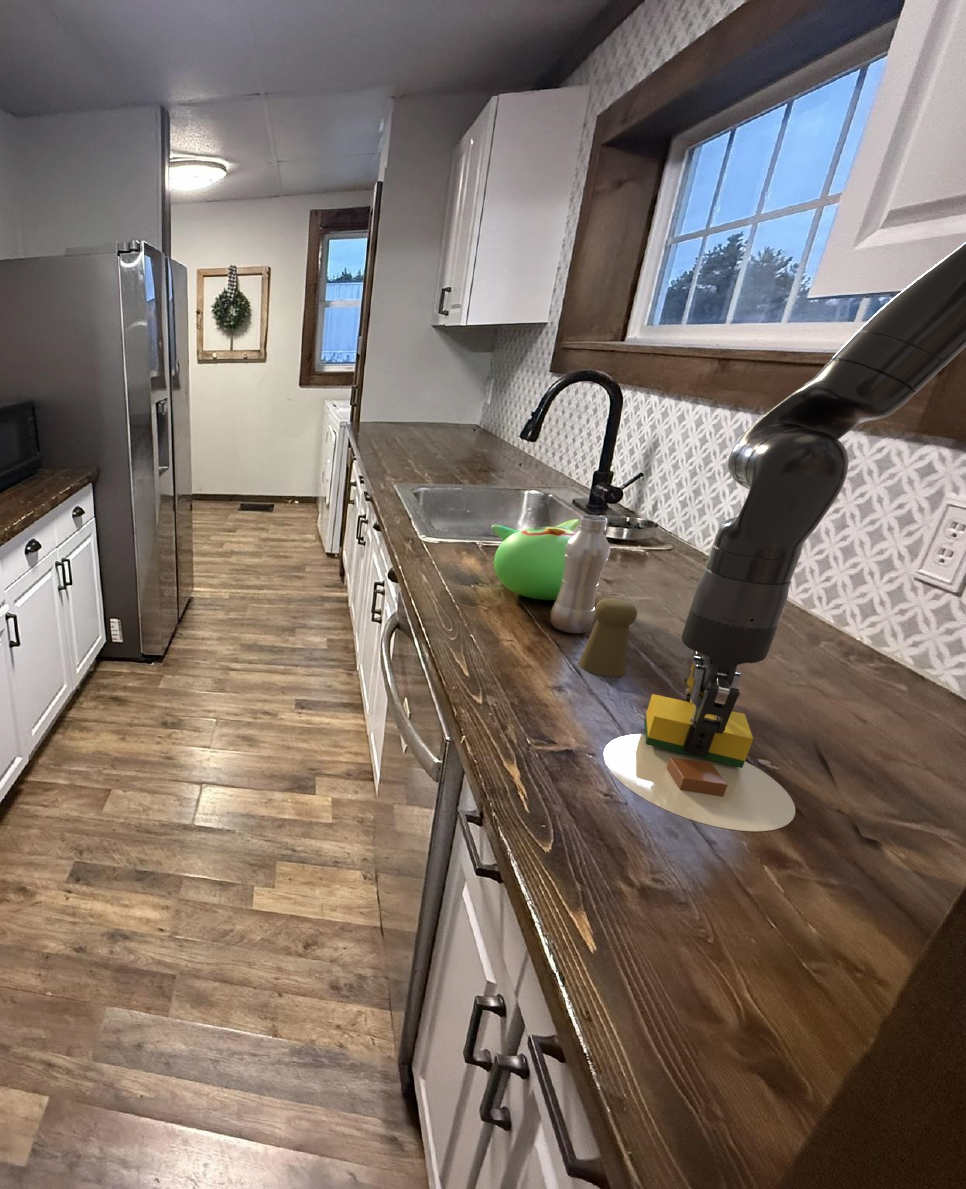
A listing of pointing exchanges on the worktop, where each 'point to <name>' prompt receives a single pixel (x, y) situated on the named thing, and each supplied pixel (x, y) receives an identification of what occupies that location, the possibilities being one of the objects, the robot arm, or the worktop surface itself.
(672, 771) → the brown wooden tile
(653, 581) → the worktop surface
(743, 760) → the sponge
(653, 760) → the plate
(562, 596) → the plastic bottle
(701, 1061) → the worktop surface
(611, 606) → the cork
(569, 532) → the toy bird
